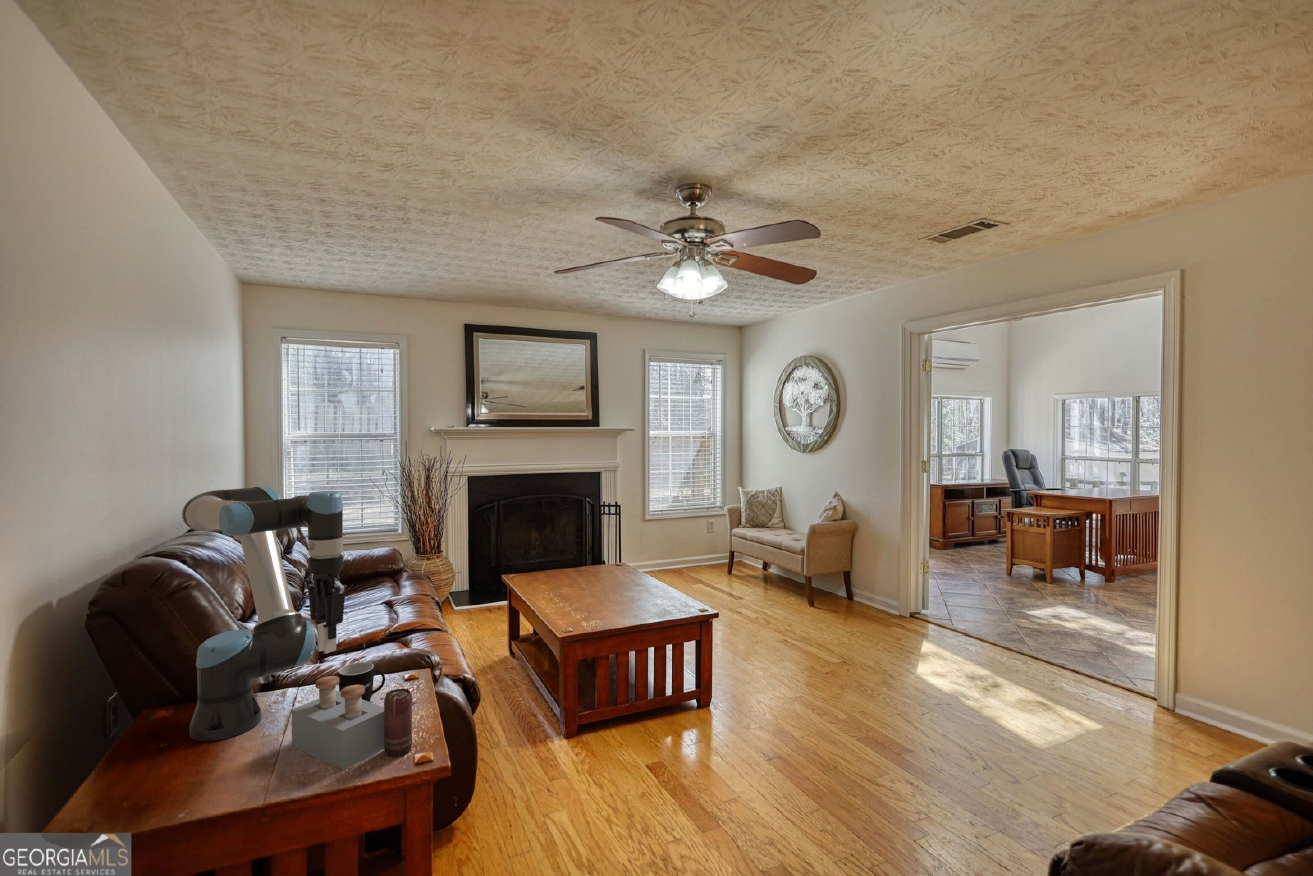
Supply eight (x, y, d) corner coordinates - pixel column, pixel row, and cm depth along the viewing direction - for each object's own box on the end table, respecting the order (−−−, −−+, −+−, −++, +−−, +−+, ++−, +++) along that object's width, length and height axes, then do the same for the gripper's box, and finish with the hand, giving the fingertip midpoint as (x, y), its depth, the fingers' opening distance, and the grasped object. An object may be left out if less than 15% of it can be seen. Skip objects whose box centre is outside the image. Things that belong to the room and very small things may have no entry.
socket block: (292, 746, 151) (291, 709, 151) (338, 725, 161) (338, 690, 161) (343, 769, 141) (342, 730, 141) (389, 745, 151) (388, 709, 151)
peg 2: (336, 732, 148) (335, 691, 147) (356, 722, 152) (356, 683, 152) (350, 737, 145) (349, 696, 145) (370, 728, 149) (369, 687, 149)
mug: (341, 715, 167) (341, 677, 166) (335, 702, 174) (335, 666, 174) (389, 703, 174) (389, 667, 174) (381, 691, 181) (381, 657, 181)
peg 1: (311, 721, 153) (310, 682, 152) (331, 712, 157) (331, 674, 157) (324, 727, 150) (323, 686, 150) (344, 717, 154) (343, 678, 154)
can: (382, 760, 145) (382, 701, 144) (386, 745, 151) (386, 689, 151) (410, 756, 147) (410, 698, 146) (413, 742, 153) (413, 686, 152)
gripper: (292, 554, 152) (294, 649, 153) (329, 561, 145) (330, 661, 146) (322, 549, 159) (323, 640, 160) (359, 555, 152) (360, 651, 152)
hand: (327, 650), depth 153 cm, fingers closed
